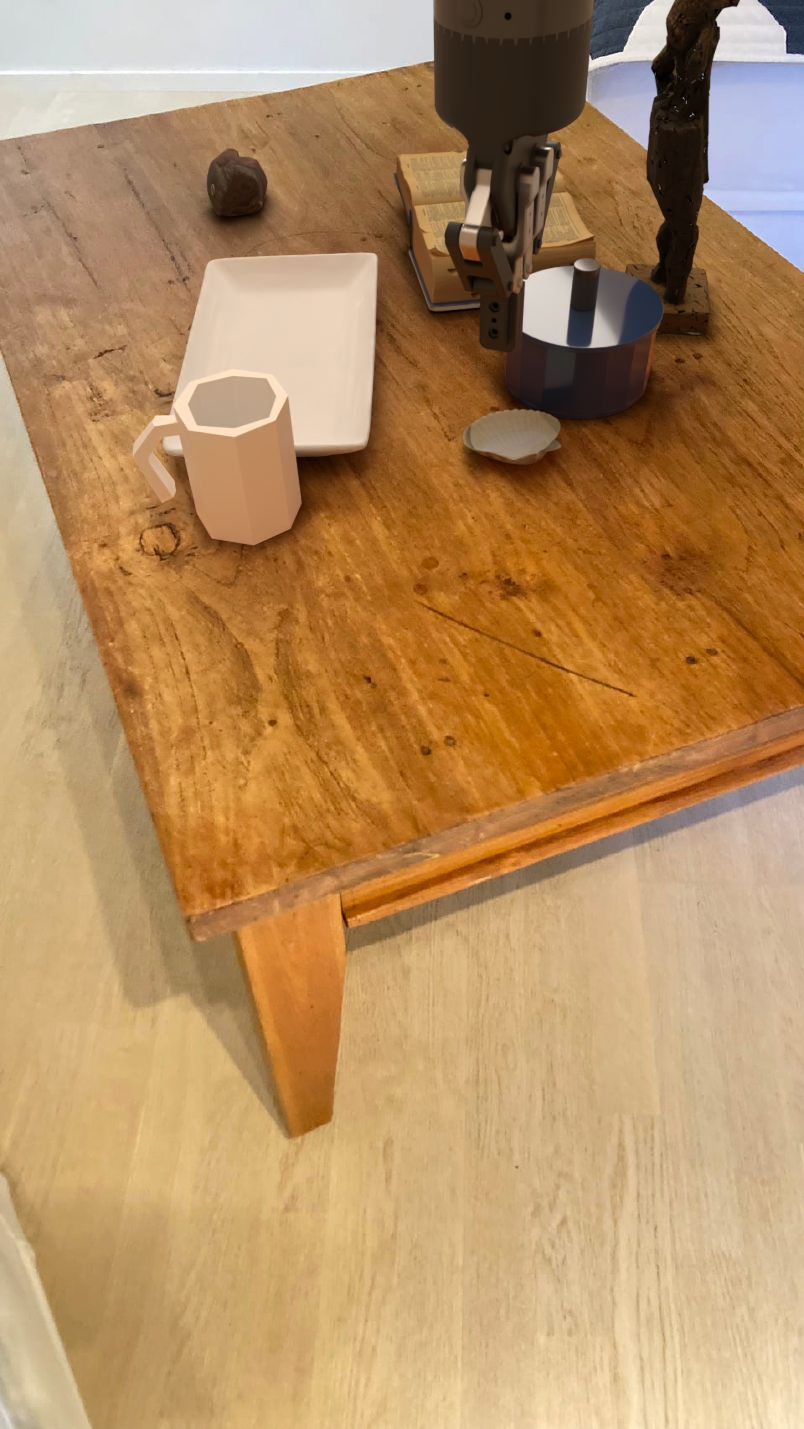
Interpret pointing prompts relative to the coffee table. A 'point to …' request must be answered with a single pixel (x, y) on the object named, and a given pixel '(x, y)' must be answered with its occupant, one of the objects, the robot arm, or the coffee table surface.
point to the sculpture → (681, 160)
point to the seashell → (513, 435)
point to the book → (438, 201)
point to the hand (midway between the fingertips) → (500, 344)
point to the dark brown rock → (236, 184)
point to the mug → (230, 455)
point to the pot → (577, 379)
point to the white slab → (293, 340)
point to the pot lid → (589, 309)
